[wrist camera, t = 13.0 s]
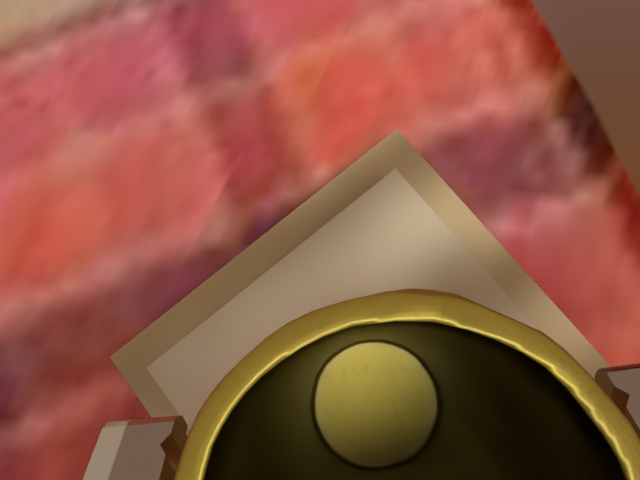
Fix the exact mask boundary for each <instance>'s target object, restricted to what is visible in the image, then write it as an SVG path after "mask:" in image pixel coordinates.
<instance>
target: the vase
mask: <svg viewBox="0 0 640 480" xmlns="http://www.w3.org/2000/svg"><path fill="white" fill-rule="evenodd" d="M174 480H640V439H639V437H638V435H637V434H636V432H635V430H634V429H633V427H632V425H631V423H630V422H629V421H628V419H627V418H626V417H625V416H624V414H623V413H622V412H621V411H620V410H619V408H618V407H617V406H616V405H615V403H614V402H613V401H612V400H611V398H610V397H609V396H608V395H607V394H606V393H605V391H604V390H603V389H602V388H601V387H600V385H599V384H598V383H597V382H596V381H595V380H594V378H593V377H592V376H591V375H590V374H589V373H588V372H587V371H586V370H585V369H584V368H583V367H582V366H581V365H580V364H579V363H578V362H577V361H576V360H575V359H574V358H573V357H572V356H571V355H570V354H569V353H568V352H567V351H566V350H565V349H564V348H563V347H561V346H560V345H559V344H558V343H556V342H555V341H554V340H552V339H551V338H550V337H548V336H547V335H546V334H544V333H543V332H542V331H540V330H537V329H535V328H533V327H530V326H528V325H526V324H524V323H521V322H519V321H517V320H515V319H513V318H510V317H508V316H506V315H504V314H501V313H499V312H497V311H494V310H492V309H490V308H487V307H485V306H483V305H480V304H478V303H476V302H474V301H471V300H469V299H467V298H464V297H462V296H460V295H458V294H455V293H449V292H444V291H438V290H431V289H419V288H409V289H402V290H396V291H386V292H381V293H377V294H372V295H368V296H364V297H359V298H355V299H350V300H346V301H343V302H339V303H336V304H333V305H330V306H326V307H323V308H320V309H317V310H313V311H311V312H309V313H307V314H305V315H303V316H301V317H299V318H297V319H295V320H292V321H290V322H288V323H287V324H285V325H284V326H282V327H281V328H279V329H278V330H277V331H275V332H274V333H272V334H271V335H269V336H268V337H266V338H265V339H264V340H263V341H262V342H261V343H260V344H259V345H257V346H256V347H255V348H254V349H253V350H252V351H251V352H249V353H248V354H247V355H246V356H245V357H244V358H243V359H242V360H241V361H240V362H239V363H238V364H237V365H236V366H235V367H234V368H233V369H232V370H231V371H230V372H229V373H228V374H227V375H226V376H225V377H224V378H223V379H222V380H221V381H220V383H219V384H218V385H217V386H216V387H215V389H214V390H213V391H212V392H211V394H210V395H209V397H208V398H207V400H206V401H205V403H204V404H203V406H202V407H201V409H200V410H199V412H198V414H197V416H196V418H195V421H194V423H193V425H192V427H191V430H190V432H189V434H188V437H187V440H186V443H185V446H184V449H183V452H182V455H181V458H180V461H179V464H178V468H177V471H176V475H175V478H174Z"/></svg>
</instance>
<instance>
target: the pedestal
mask: <svg viewBox="0 0 640 480" xmlns="http://www.w3.org/2000/svg"><path fill="white" fill-rule="evenodd" d="M409 288H419V289H431V290H438V291H444V292H449V293H455V294H458V295H460V296H462V297H464V298H467V299H469V300H471V301H474V302H476V303H478V304H480V305H483V306H485V307H487V308H490V309H492V310H494V311H497V312H499V313H501V314H504V315H506V316H508V317H510V318H513V319H515V320H517V321H519V322H521V323H524V324H526V325H528V326H530V327H533V328H535V329H537V330H540V331H542V332H543V333H544V334H546V335H547V336H548V337H550V338H551V339H552V340H554V341H555V342H556V343H558V344H559V345H560V346H561V347H563V348H564V349H565V350H566V351H567V352H568V353H569V354H570V355H571V356H572V357H573V358H574V359H575V360H576V361H577V362H578V363H579V364H580V365H581V366H582V367H583V368H584V369H585V370H586V371H587V372H588V373H589V374H590V375H591V376H592V377H593V378H595V374H596V372H597V371H598V369H599V368H607V367H611V366H610V365H609V364H608V363H607V362H606V361H605V359H604V358H603V357H602V356H601V355H600V354H599V353H598V352H597V351H596V349H595V348H594V347H593V346H592V345H591V344H590V343H589V342H588V341H587V339H586V338H585V337H584V336H583V335H582V334H581V333H580V332H579V331H578V329H577V328H576V327H575V326H574V325H573V324H572V323H571V322H570V321H569V320H568V318H567V317H566V316H565V315H564V314H563V313H562V312H561V311H560V310H559V308H558V307H557V306H556V305H555V304H554V303H553V302H552V301H551V300H550V298H549V297H548V296H547V295H546V294H545V293H544V292H543V291H542V290H541V288H540V287H539V286H538V285H537V284H536V283H535V282H534V281H533V280H532V278H531V277H530V276H529V275H528V274H527V273H526V272H525V271H524V270H523V268H522V267H521V266H520V265H519V264H518V263H517V262H516V261H515V260H514V258H513V257H512V256H511V255H510V254H509V253H508V252H507V251H506V250H505V248H504V247H503V246H502V245H501V244H500V243H499V242H498V241H497V240H496V238H495V237H494V236H493V235H492V234H491V233H490V232H489V231H488V230H487V228H486V227H485V226H484V225H483V224H482V223H481V222H480V221H479V220H478V219H477V217H476V216H475V215H474V214H473V213H472V212H471V211H470V210H469V209H468V207H467V206H466V205H465V204H464V203H463V202H462V201H461V200H460V199H459V197H458V196H457V195H456V194H455V193H454V192H453V191H452V190H451V189H450V187H449V186H448V185H447V184H446V183H445V182H444V181H443V180H442V179H441V177H440V176H439V175H438V174H437V173H436V172H435V171H434V170H433V169H432V167H431V166H430V165H429V164H428V163H427V162H426V161H425V160H424V159H423V157H422V156H421V155H420V154H419V153H418V152H417V151H416V150H415V149H414V147H413V146H412V145H411V144H410V143H409V142H408V141H407V140H406V139H405V137H404V136H403V135H402V134H401V133H400V132H399V131H398V130H397V129H395V130H394V131H393V132H392V133H390V134H389V135H388V136H387V137H385V138H384V139H383V140H382V141H380V142H379V143H378V144H377V145H375V146H374V147H373V148H372V149H370V150H369V151H368V152H367V153H365V154H364V155H363V156H362V157H360V158H359V159H358V160H356V161H355V162H354V163H353V164H351V165H350V166H349V167H348V168H346V169H345V170H344V171H343V172H341V173H340V174H339V175H338V176H336V177H335V178H334V179H333V180H331V181H330V182H329V183H328V184H326V185H325V186H324V187H323V188H321V189H320V190H319V191H318V192H316V193H315V194H314V195H313V196H311V197H310V198H309V199H308V200H306V201H305V202H304V203H302V204H301V205H300V206H299V207H297V208H296V209H295V210H294V211H292V212H291V213H290V214H289V215H287V216H286V217H285V218H284V219H282V220H281V221H280V222H279V223H277V224H276V225H275V226H274V227H272V228H271V229H270V230H269V231H267V232H266V233H265V234H264V235H262V236H261V237H260V238H259V239H257V240H256V241H255V242H253V243H252V244H251V245H250V246H248V247H247V248H246V249H245V250H243V251H242V252H241V253H240V254H238V255H237V256H236V257H235V258H233V259H232V260H231V261H230V262H228V263H227V264H226V265H225V266H223V267H222V268H221V269H220V270H218V271H217V272H216V273H215V274H213V275H212V276H211V277H210V278H208V279H207V280H206V281H204V282H203V283H202V284H201V285H199V286H198V287H197V288H196V289H194V290H193V291H192V292H191V293H189V294H188V295H187V296H186V297H184V298H183V299H182V300H181V301H179V302H178V303H177V304H176V305H174V306H173V307H172V308H171V309H169V310H168V311H167V312H166V313H164V314H163V315H162V316H161V317H159V318H158V319H157V320H155V321H154V322H153V323H152V324H150V325H149V326H148V327H147V328H145V329H144V330H143V331H142V332H140V333H139V334H138V335H137V336H135V337H134V338H133V339H132V340H130V341H129V342H128V343H127V344H125V345H124V346H123V347H122V348H120V349H119V350H118V351H117V352H115V353H114V354H113V355H112V356H110V358H111V360H112V361H113V363H114V364H115V366H116V367H117V368H118V370H119V371H120V373H121V374H122V376H123V377H124V379H125V380H126V381H127V383H128V384H129V386H130V387H131V389H132V390H133V392H134V393H135V394H136V396H137V397H138V399H139V400H140V402H141V403H142V405H143V406H144V407H145V409H146V410H147V412H148V413H149V415H150V416H151V418H154V417H167V416H180V415H182V416H183V417H184V419H185V421H186V423H187V425H188V427H187V431H186V435H188V434H189V432H190V430H191V427H192V425H193V423H194V421H195V418H196V416H197V414H198V412H199V410H200V409H201V407H202V406H203V404H204V403H205V401H206V400H207V398H208V397H209V395H210V394H211V392H212V391H213V390H214V389H215V387H216V386H217V385H218V384H219V383H220V381H221V380H222V379H223V378H224V377H225V376H226V375H227V374H228V373H229V372H230V371H231V370H232V369H233V368H234V367H235V366H236V365H237V364H238V363H239V362H240V361H241V360H242V359H243V358H244V357H245V356H246V355H247V354H248V353H249V352H251V351H252V350H253V349H254V348H255V347H256V346H257V345H259V344H260V343H261V342H262V341H263V340H264V339H265V338H266V337H268V336H269V335H271V334H272V333H274V332H275V331H277V330H278V329H279V328H281V327H282V326H284V325H285V324H287V323H288V322H290V321H292V320H295V319H297V318H299V317H301V316H303V315H305V314H307V313H309V312H311V311H313V310H317V309H320V308H323V307H326V306H330V305H333V304H336V303H339V302H343V301H346V300H350V299H355V298H359V297H364V296H368V295H372V294H377V293H381V292H386V291H396V290H402V289H409Z"/></svg>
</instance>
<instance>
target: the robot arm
mask: <svg viewBox="0 0 640 480" xmlns="http://www.w3.org/2000/svg"><path fill="white" fill-rule="evenodd" d="M594 380H595V381H596V382H597V383H598V384H599V385H600V387H601V388H602V389H603V390H604V391H605V393H606V394H607V395H608V396H609V397H610V398H611V400H612V401H613V402H614V403H615V405H616V406H617V407H618V408H619V410H620V411H621V412H622V413H623V414H624V416H625V417H626V418H627V419H628V421H629V422H630V423H631V425H632V427H633V429H634V430H635V432H636V434H637V435H638V437H639V439H640V363H639V364H631V365H623V366H615V367H607V368H599V369H598V371H597V372H596V374H595V378H594ZM187 427H188V425H187V423H186V421H185V419H184V417H183V416H182V415H180V416H167V417H154V418H142V419H131V420H121V421H111V422H107V423H106V425H105V426H104V427H103V428H102V430H101V432H100V435H99V437H98V440H97V443H96V445H95V448H94V450H93V453H92V456H91V458H90V461H89V463H88V466H87V469H86V471H85V474H84V476H83V479H82V480H174V478H175V475H176V471H177V468H178V464H179V461H180V458H181V455H182V452H183V449H184V446H185V443H186V440H187V437H188V435H186V431H187Z"/></svg>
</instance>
